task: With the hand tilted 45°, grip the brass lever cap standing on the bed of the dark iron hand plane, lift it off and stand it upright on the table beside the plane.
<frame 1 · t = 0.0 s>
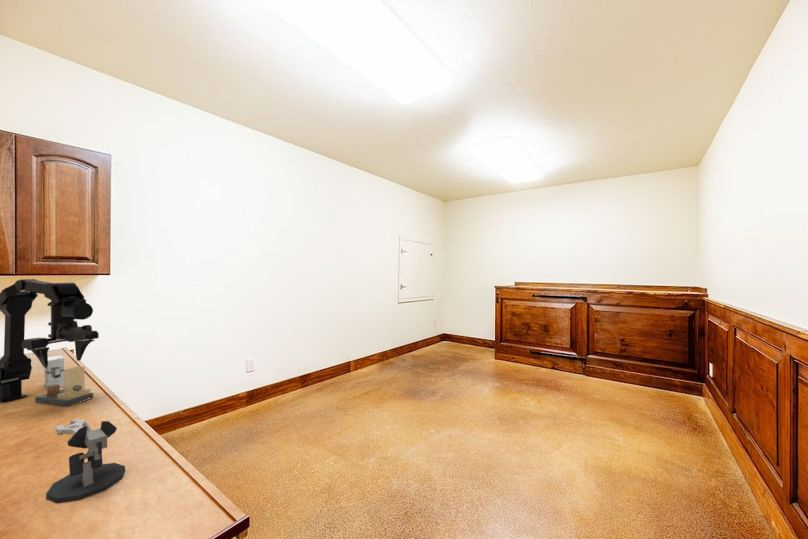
hand: (62, 363, 117), 15 cm above the worktop, tool pointing down, fingers open, 9 cm apart
adjustable wrench: (79, 438, 95), on the worktop
gun turret: (86, 479, 76), on the worktop
ink box: (54, 386, 139), on the worktop
lever cap: (74, 396, 122), point 2 cm above the worktop, touching plane body
plane body: (64, 400, 123), on the worktop
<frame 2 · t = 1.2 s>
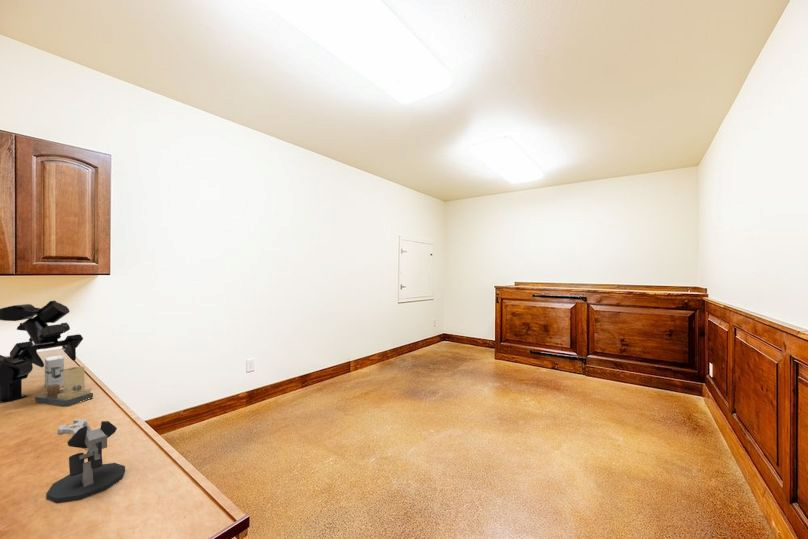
hand: (59, 363, 124), 13 cm above the worktop, tool tilted 45°, fingers open, 9 cm apart
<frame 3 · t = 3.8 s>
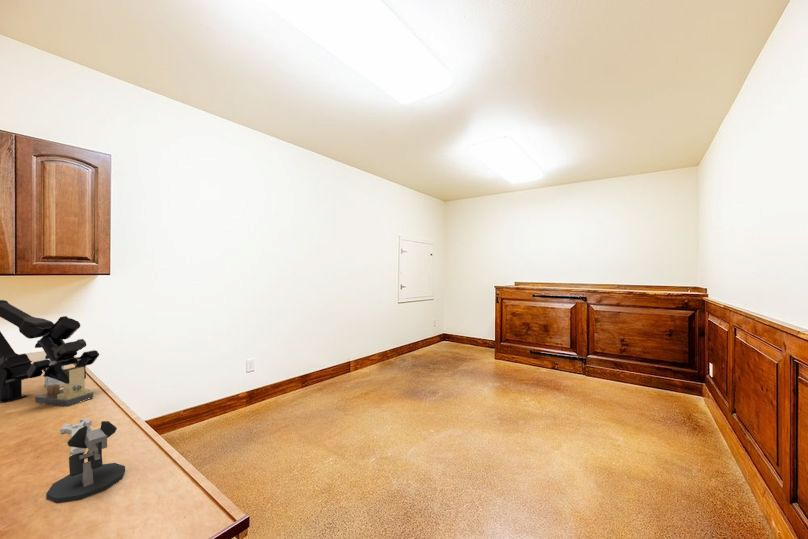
hand: (76, 380, 121), 8 cm above the worktop, tool tilted 45°, fingers closed on lever cap, 4 cm apart
lever cap: (74, 396, 122), point 2 cm above the worktop, touching gripper, plane body
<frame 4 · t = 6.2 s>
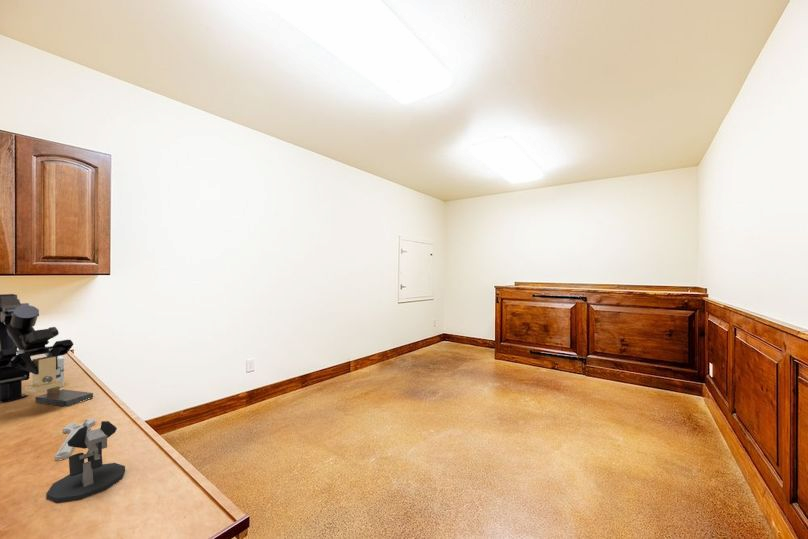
hand: (47, 371, 113), 13 cm above the worktop, tool tilted 45°, fingers closed on lever cap, 4 cm apart
lever cap: (44, 388, 113), point 8 cm above the worktop, touching gripper
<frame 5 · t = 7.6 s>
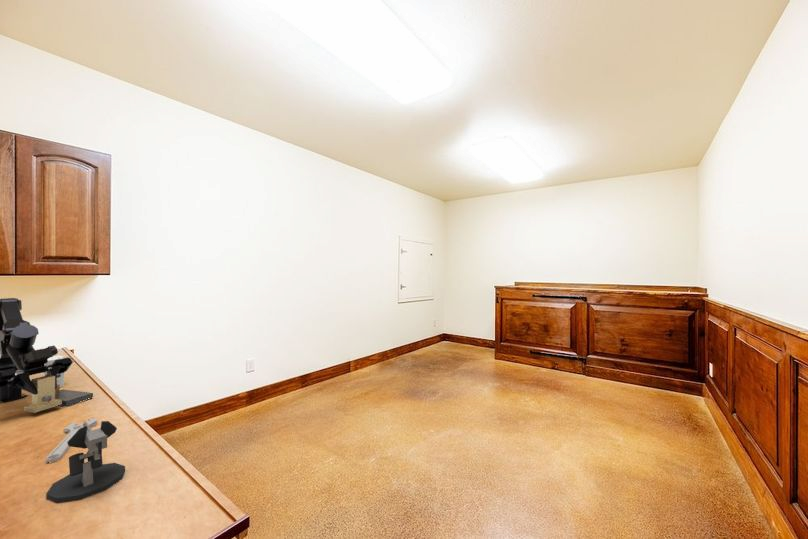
hand: (46, 391, 112), 7 cm above the worktop, tool tilted 45°, fingers closed on lever cap, 4 cm apart
lever cap: (43, 407, 113), point 1 cm above the worktop, touching gripper
when the fingers open (6 cm above the worktop, at t = 8.5 s): lever cap stays where it is, on the worktop.
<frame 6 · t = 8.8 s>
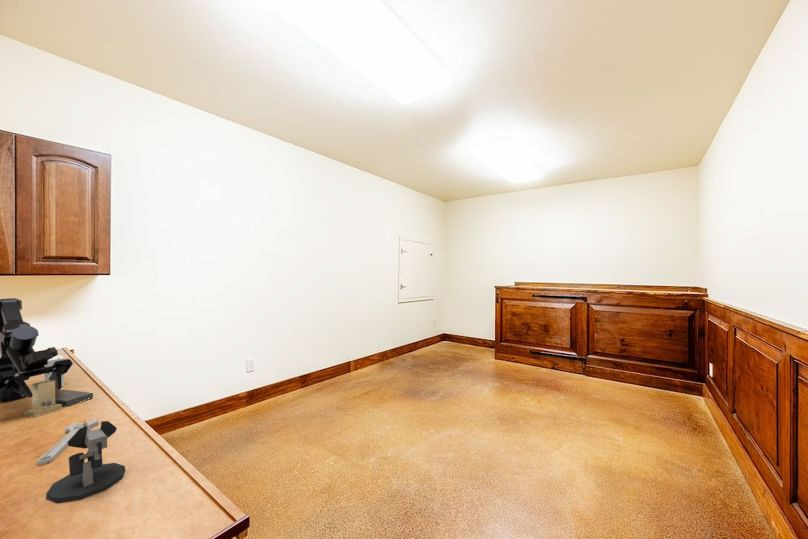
hand: (46, 392, 112), 7 cm above the worktop, tool tilted 45°, fingers open, 7 cm apart
lever cap: (43, 412, 113), on the worktop
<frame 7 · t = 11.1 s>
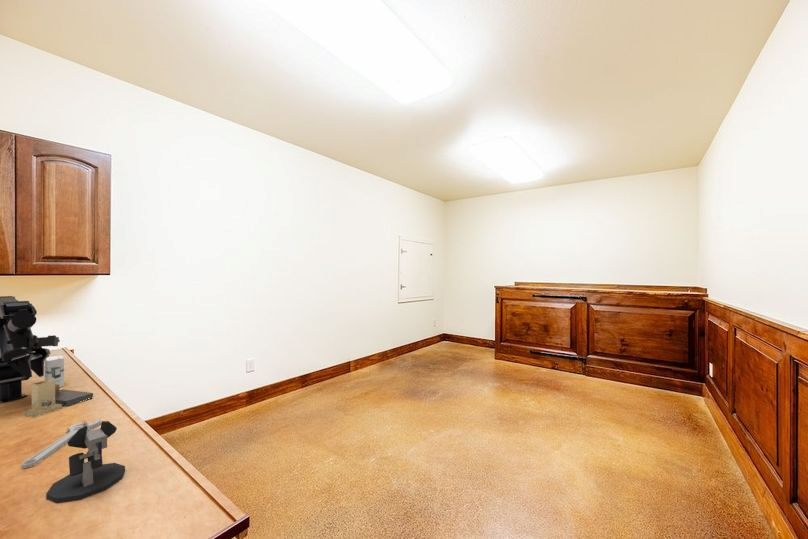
hand: (35, 377, 118), 10 cm above the worktop, tool tilted 20°, fingers open, 9 cm apart
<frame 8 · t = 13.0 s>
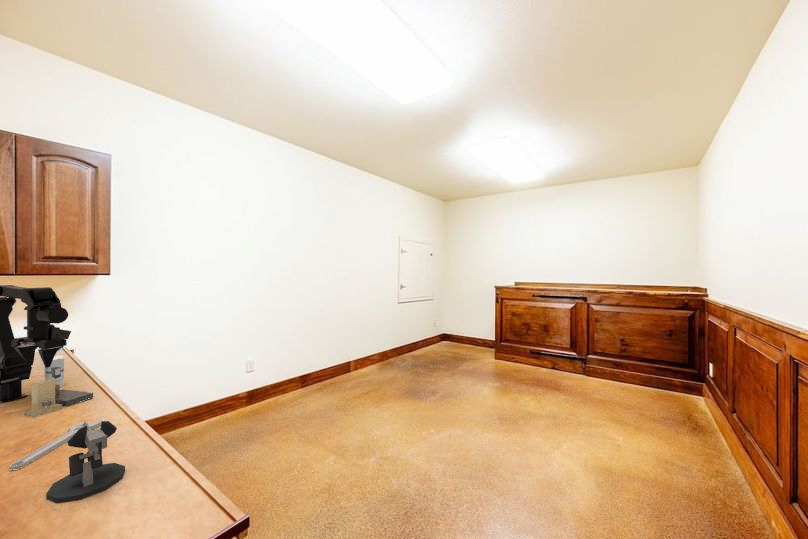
hand: (39, 366, 121), 13 cm above the worktop, tool pointing down, fingers open, 9 cm apart
at the end: lever cap inside the target area (0.0 cm from its centre), on the worktop; lever cap tilted 0°; the gripper is holding nothing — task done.
